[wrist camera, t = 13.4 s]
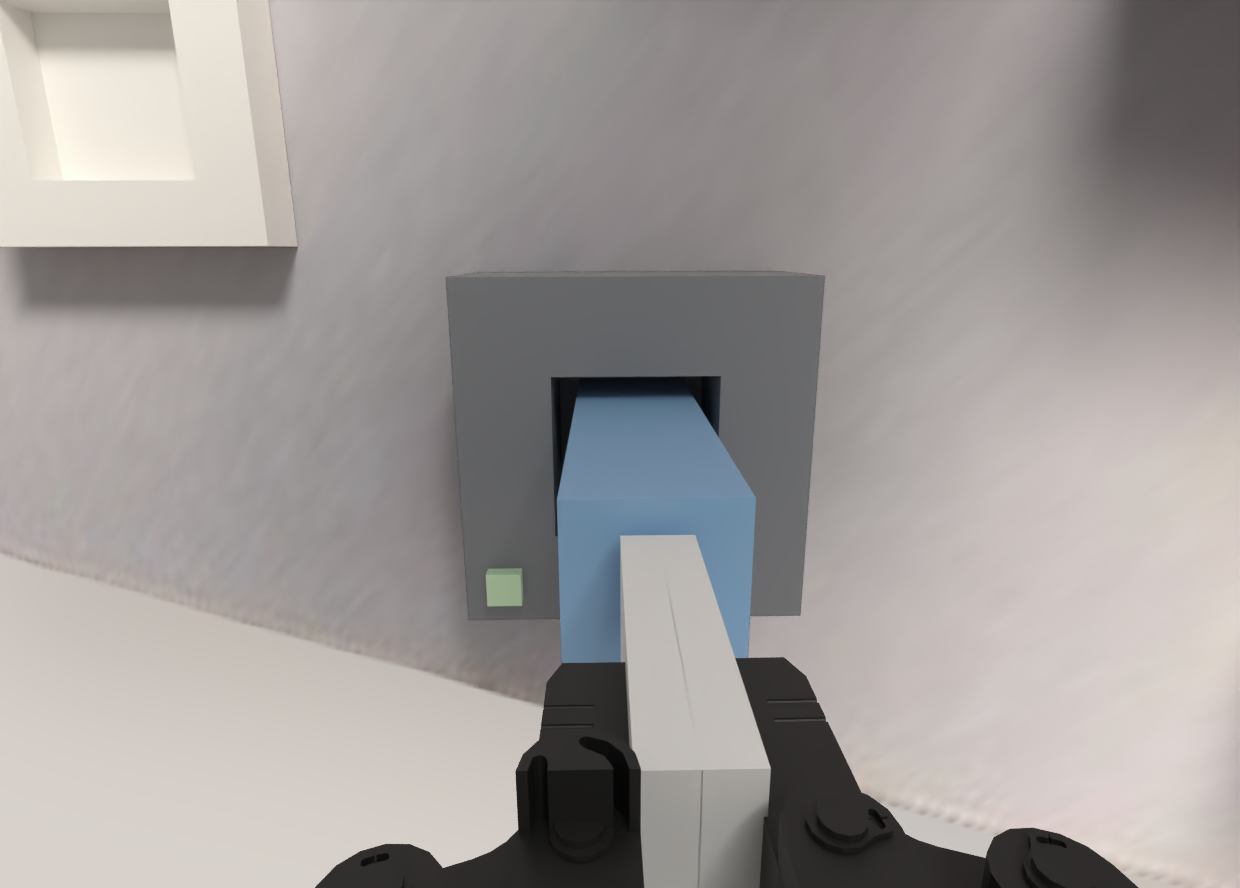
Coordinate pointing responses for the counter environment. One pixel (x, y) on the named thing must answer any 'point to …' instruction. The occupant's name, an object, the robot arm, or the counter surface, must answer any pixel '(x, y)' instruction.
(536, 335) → the port
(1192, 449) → the counter surface
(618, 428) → the plug
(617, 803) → the robot arm
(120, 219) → the holster
